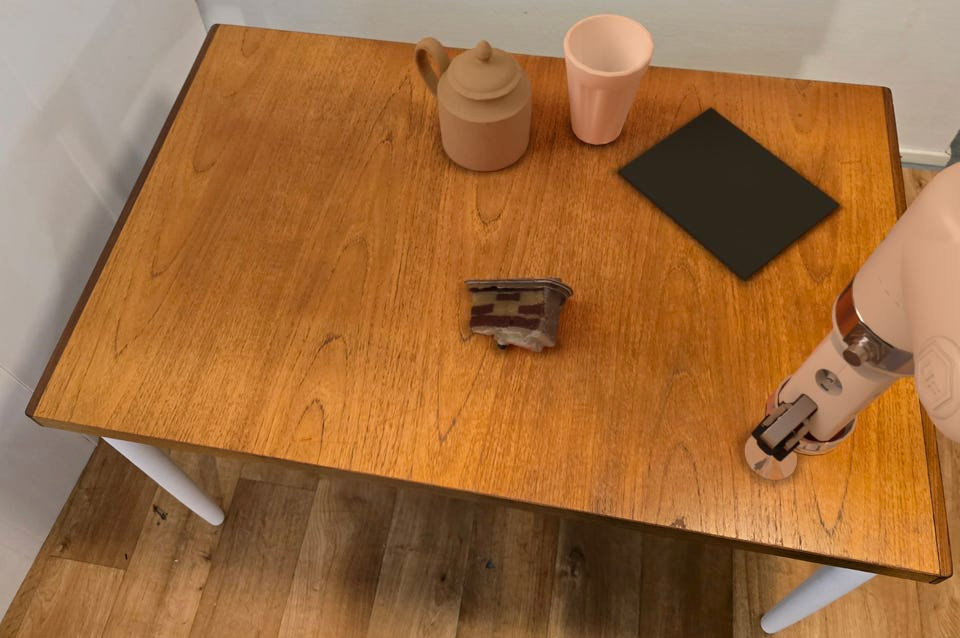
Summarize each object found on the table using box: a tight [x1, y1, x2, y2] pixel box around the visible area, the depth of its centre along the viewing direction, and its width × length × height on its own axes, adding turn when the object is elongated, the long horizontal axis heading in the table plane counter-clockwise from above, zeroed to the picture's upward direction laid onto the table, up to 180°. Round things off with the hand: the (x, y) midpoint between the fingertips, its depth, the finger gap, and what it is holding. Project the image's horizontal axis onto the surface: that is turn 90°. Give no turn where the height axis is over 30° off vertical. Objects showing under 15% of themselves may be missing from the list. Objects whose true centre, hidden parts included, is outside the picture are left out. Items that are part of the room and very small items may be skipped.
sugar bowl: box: [413, 36, 533, 173], centre depth 87 cm, size 15×11×15 cm
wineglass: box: [744, 372, 858, 481], centre depth 67 cm, size 7×7×12 cm
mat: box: [617, 107, 840, 282], centre depth 88 cm, size 20×16×1 cm
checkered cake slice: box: [462, 276, 575, 353], centre depth 78 cm, size 10×7×12 cm
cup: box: [563, 13, 656, 146], centre depth 88 cm, size 10×10×13 cm
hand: (805, 411), depth 64 cm, fingers open, 9 cm apart
